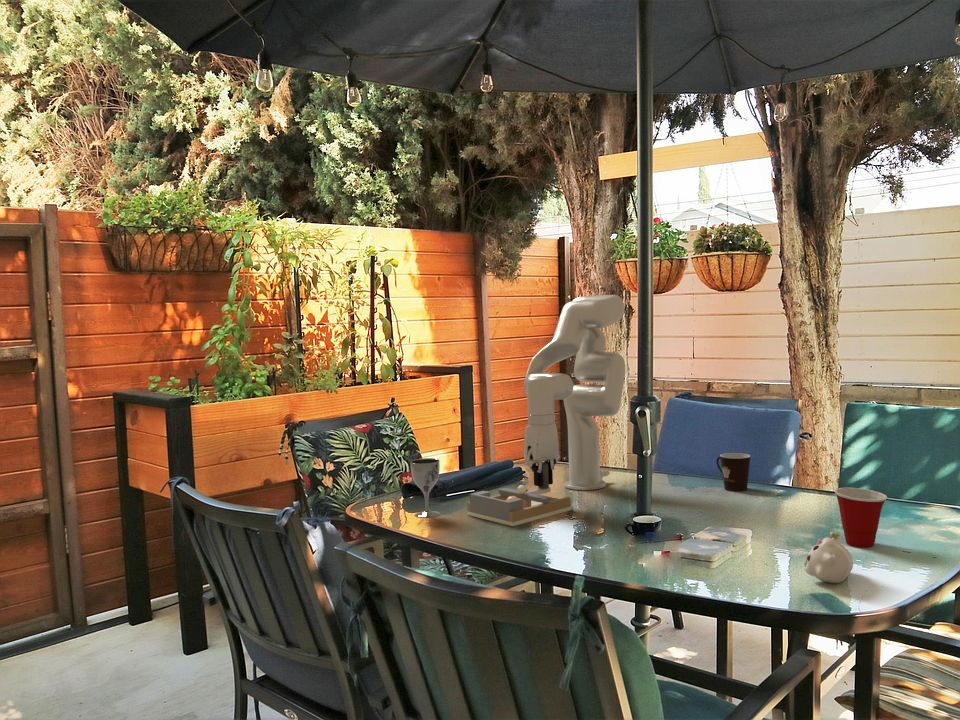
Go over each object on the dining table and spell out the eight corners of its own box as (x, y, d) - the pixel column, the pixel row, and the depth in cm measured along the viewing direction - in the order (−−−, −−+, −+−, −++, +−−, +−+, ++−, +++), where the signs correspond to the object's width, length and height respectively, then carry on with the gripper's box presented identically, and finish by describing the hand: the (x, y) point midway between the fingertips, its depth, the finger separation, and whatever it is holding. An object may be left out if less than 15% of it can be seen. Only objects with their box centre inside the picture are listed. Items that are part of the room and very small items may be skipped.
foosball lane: (525, 500, 241) (524, 480, 241) (570, 510, 228) (570, 488, 227) (467, 514, 227) (466, 493, 226) (512, 526, 213) (511, 503, 213)
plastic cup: (887, 553, 179) (886, 498, 179) (832, 548, 184) (832, 495, 184) (888, 540, 189) (888, 488, 188) (837, 535, 194) (836, 485, 193)
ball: (508, 491, 227) (500, 502, 225) (518, 494, 224) (510, 504, 222) (514, 502, 229) (506, 512, 227) (525, 504, 226) (516, 514, 224)
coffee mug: (754, 491, 241) (754, 457, 240) (725, 492, 241) (724, 458, 240) (742, 483, 252) (742, 450, 252) (714, 484, 253) (713, 451, 252)
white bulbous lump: (830, 522, 171) (822, 532, 158) (866, 546, 168) (861, 558, 155) (804, 559, 173) (794, 572, 160) (840, 583, 170) (833, 599, 157)
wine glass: (443, 510, 232) (441, 457, 232) (439, 518, 225) (437, 463, 224) (415, 511, 233) (413, 458, 232) (410, 518, 225) (408, 463, 224)
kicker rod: (526, 495, 242) (525, 458, 241) (572, 504, 228) (571, 465, 227) (497, 502, 234) (495, 464, 233) (542, 512, 220) (541, 472, 220)
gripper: (551, 415, 240) (553, 478, 241) (510, 422, 229) (513, 488, 231) (571, 417, 235) (573, 481, 236) (530, 424, 224) (532, 491, 225)
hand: (543, 484), depth 233 cm, fingers closed on kicker rod, 3 cm apart
